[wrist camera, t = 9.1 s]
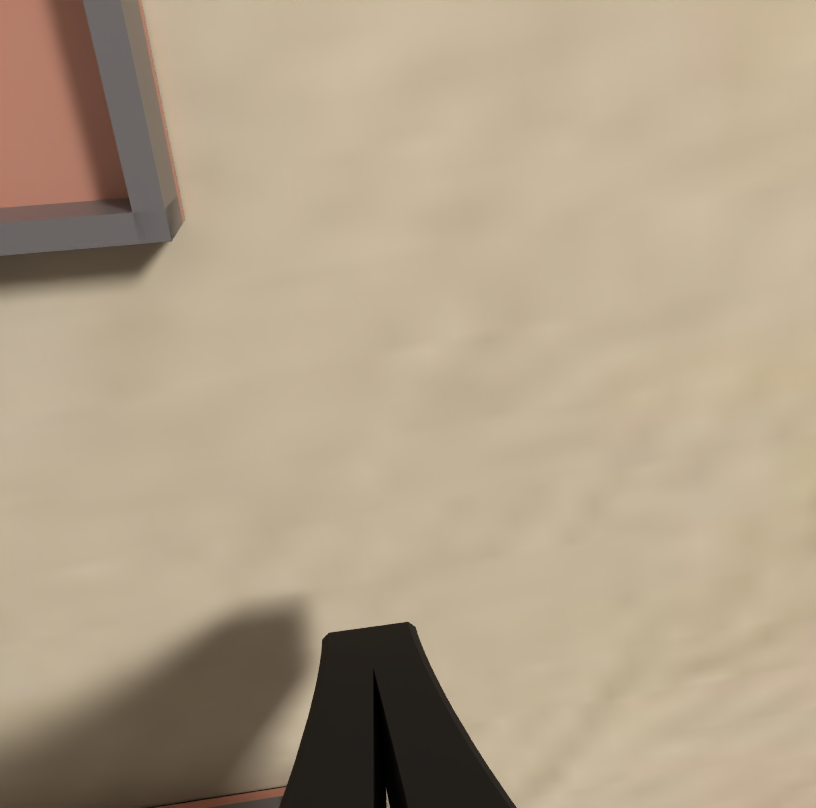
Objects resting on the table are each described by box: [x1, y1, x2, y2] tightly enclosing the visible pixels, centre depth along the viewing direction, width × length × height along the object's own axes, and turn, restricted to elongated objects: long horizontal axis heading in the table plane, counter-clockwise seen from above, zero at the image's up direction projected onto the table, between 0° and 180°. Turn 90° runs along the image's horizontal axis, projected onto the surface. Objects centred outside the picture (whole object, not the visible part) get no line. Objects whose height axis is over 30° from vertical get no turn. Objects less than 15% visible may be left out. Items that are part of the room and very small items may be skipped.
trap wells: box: [0, 0, 286, 808], centre depth 12 cm, size 24×7×1 cm, turn 3°
